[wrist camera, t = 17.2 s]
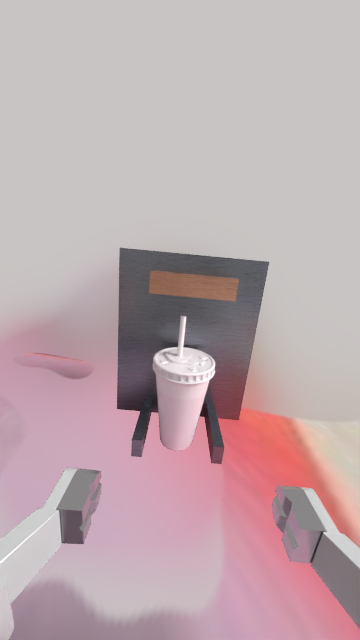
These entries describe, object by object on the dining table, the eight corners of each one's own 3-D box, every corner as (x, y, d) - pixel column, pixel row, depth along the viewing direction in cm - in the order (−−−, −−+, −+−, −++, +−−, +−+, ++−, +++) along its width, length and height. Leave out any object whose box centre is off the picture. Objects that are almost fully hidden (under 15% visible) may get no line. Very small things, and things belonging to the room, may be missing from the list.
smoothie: (165, 410, 27) (174, 307, 24) (211, 429, 24) (229, 317, 21) (135, 445, 21) (141, 317, 18) (191, 475, 19) (210, 332, 15)
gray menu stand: (96, 453, 20) (93, 239, 15) (119, 403, 27) (123, 248, 23) (256, 466, 20) (304, 259, 15) (236, 413, 28) (264, 262, 23)
